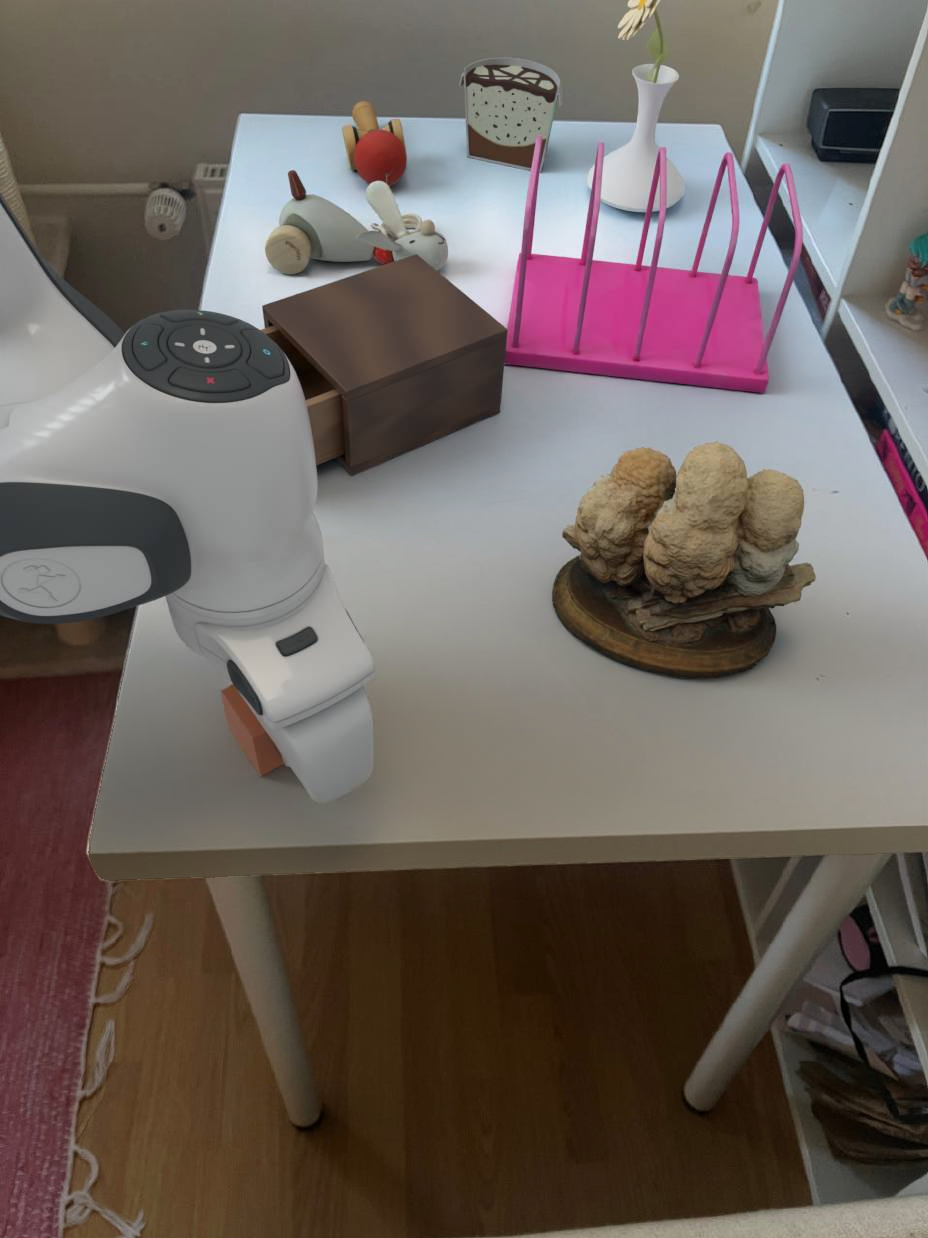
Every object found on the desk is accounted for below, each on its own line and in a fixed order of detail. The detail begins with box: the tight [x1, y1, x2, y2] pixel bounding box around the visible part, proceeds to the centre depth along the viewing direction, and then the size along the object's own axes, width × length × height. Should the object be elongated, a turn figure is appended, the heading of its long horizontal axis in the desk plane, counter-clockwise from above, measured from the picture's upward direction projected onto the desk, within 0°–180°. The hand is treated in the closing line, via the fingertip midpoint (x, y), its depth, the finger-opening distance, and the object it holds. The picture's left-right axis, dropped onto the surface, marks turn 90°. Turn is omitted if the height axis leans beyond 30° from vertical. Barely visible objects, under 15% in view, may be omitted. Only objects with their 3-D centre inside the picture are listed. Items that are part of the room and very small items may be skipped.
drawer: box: [260, 325, 345, 467], centre depth 84 cm, size 19×13×7 cm, turn 126°
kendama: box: [341, 100, 408, 187], centre depth 119 cm, size 8×6×18 cm
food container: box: [458, 57, 564, 174], centre depth 119 cm, size 12×6×10 cm, turn 71°
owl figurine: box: [551, 441, 817, 679], centre depth 70 cm, size 18×12×17 cm, turn 75°
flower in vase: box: [586, 0, 685, 213], centre depth 108 cm, size 13×11×25 cm
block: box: [219, 684, 285, 777], centre depth 66 cm, size 4×4×4 cm
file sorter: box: [504, 136, 804, 394], centre depth 95 cm, size 17×25×16 cm
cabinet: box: [261, 254, 508, 477], centre depth 88 cm, size 16×14×9 cm
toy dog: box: [264, 169, 449, 275], centre depth 103 cm, size 12×19×9 cm, turn 104°
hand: (271, 724), depth 67 cm, fingers closed on block, 4 cm apart
